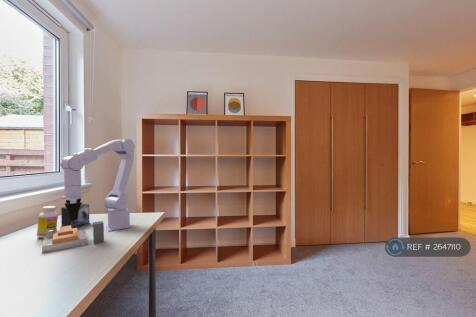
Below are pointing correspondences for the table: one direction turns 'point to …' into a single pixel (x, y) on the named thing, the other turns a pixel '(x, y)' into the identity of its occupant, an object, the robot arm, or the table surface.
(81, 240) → the peg hole board
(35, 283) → the table surface
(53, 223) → the supplement bottle
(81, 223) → the small box
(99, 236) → the grey metal square peg
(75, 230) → the bracket
